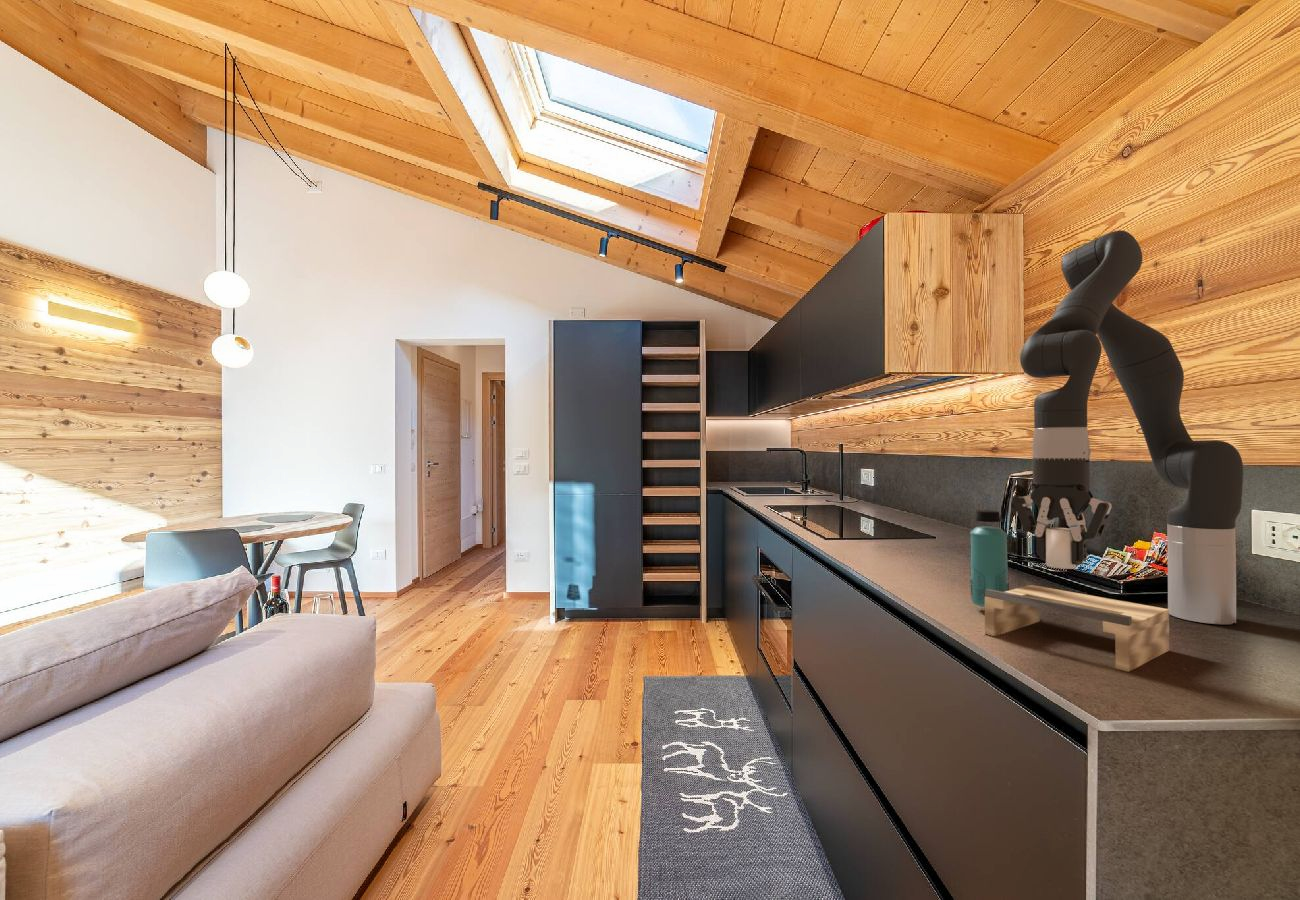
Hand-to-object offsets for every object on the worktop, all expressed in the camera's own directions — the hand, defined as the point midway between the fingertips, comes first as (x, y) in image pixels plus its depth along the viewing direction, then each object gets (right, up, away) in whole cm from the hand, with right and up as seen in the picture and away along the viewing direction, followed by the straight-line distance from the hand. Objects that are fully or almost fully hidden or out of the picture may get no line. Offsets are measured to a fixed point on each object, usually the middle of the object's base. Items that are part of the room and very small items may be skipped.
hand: (1061, 561), depth 93 cm
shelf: (+3, -14, +2) cm, 14 cm away
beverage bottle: (0, -14, +20) cm, 24 cm away
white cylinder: (0, -1, 0) cm, 1 cm away
